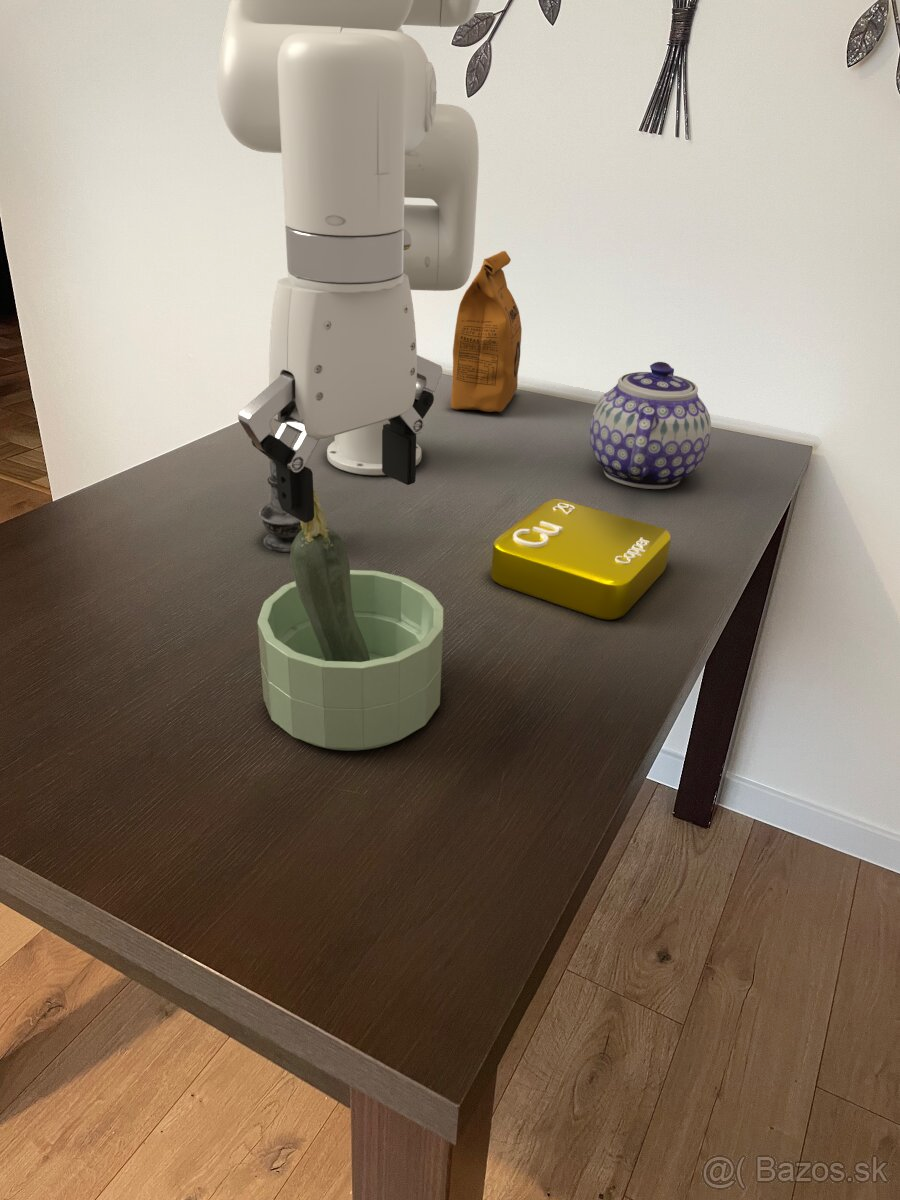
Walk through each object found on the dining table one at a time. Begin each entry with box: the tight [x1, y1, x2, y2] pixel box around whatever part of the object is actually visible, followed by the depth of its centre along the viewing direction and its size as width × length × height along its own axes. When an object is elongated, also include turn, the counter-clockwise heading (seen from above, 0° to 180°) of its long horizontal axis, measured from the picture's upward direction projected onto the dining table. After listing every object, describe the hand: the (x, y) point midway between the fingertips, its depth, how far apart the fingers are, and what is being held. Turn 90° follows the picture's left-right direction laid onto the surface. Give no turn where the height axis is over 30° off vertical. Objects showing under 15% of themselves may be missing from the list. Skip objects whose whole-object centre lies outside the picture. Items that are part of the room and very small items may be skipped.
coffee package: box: [450, 250, 522, 413], centre depth 139 cm, size 10×12×22 cm
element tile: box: [490, 498, 672, 621], centre depth 97 cm, size 15×15×5 cm
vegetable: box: [289, 488, 370, 662], centre depth 71 cm, size 4×4×20 cm
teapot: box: [589, 361, 712, 490], centre depth 118 cm, size 25×15×15 cm, turn 160°
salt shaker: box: [258, 446, 302, 553], centre depth 99 cm, size 6×6×12 cm
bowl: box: [256, 569, 444, 752], centre depth 76 cm, size 15×15×8 cm
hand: (350, 496), depth 69 cm, fingers open, 9 cm apart
